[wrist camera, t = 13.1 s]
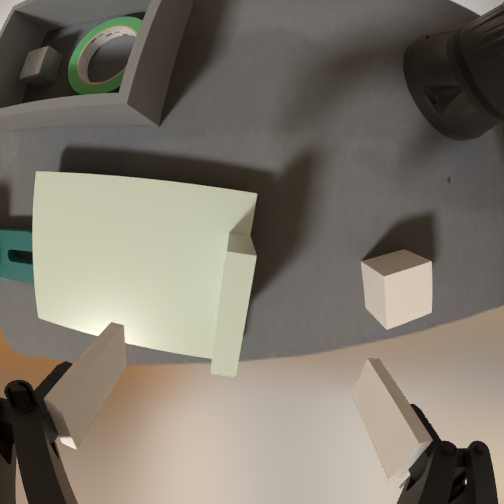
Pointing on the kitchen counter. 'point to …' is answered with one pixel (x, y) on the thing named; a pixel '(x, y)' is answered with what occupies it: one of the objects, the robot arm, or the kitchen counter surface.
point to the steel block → (41, 66)
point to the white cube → (397, 287)
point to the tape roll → (88, 48)
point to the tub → (92, 105)
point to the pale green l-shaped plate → (145, 261)
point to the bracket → (5, 256)
